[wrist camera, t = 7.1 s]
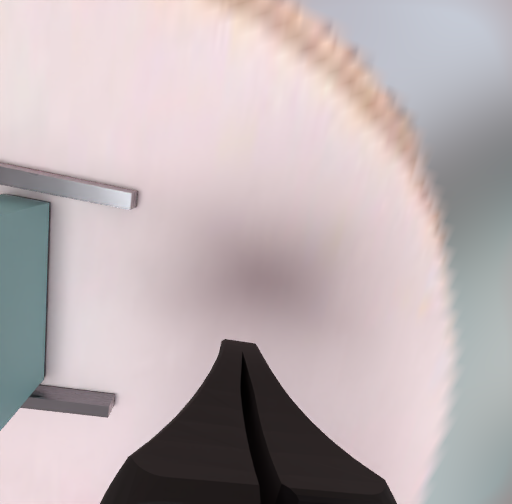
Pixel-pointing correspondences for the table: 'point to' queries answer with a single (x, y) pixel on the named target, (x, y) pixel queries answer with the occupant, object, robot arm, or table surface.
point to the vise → (83, 191)
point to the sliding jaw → (22, 299)
